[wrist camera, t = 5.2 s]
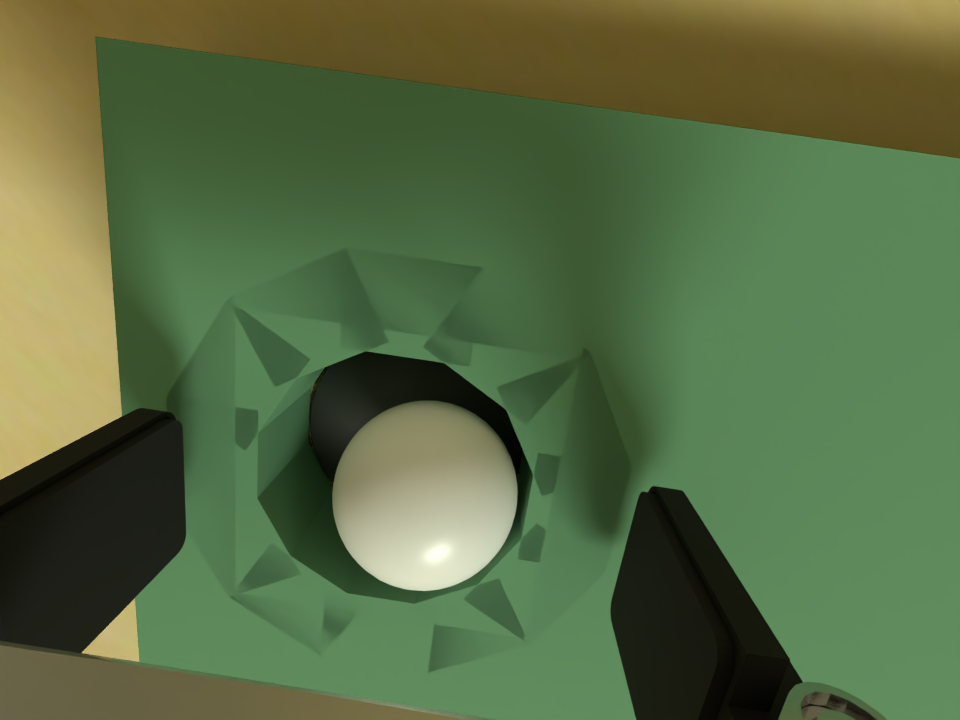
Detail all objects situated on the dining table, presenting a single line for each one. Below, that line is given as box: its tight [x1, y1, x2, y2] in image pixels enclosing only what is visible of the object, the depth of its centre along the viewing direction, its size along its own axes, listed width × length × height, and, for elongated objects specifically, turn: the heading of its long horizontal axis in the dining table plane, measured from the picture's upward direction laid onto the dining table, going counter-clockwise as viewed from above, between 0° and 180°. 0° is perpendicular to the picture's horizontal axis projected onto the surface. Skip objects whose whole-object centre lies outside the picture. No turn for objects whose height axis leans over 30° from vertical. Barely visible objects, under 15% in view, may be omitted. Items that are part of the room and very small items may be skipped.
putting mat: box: [95, 37, 960, 720], centre depth 12 cm, size 26×16×3 cm, turn 82°
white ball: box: [332, 400, 518, 591], centre depth 11 cm, size 4×4×4 cm
